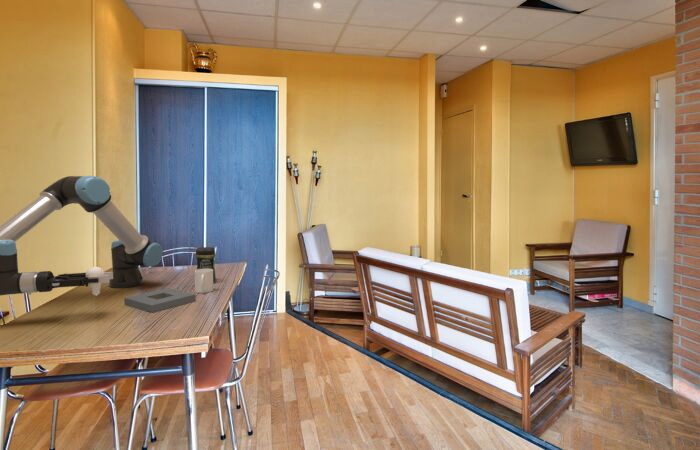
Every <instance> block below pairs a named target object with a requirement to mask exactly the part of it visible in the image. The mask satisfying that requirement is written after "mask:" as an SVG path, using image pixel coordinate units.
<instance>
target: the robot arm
mask: <svg viewBox="0 0 700 450" xmlns="http://www.w3.org/2000/svg"><path fill="white" fill-rule="evenodd" d="M110 190H111V188H110V185H109V184H108V183H107V181H106V180H104V179H103V178H101V177H99V176H94V175H68V176H65V177H62V178H60V179H58V180H57V181H54V182H53V183H51V184H50V185H48V186H47V187H46V188H44V189H43V190H42V191H41V192H40V193H39V196H38V197H37V198H36V199H33V201H31V203H29V204H27V205H26V206H25V207H23V208H22V209H21V210H20V211H18V212H17V213H16V214H14V215H13V216H12V217H10V218H9V219H8V220H6V221H5V222H3V224H0V296H7V295H10V296H11V295H18V294H28V295H32V294H33V293H48V292H51V291H52V290H54V289H58V288H71V287H85V288H87V287H89V285H90V284H99V283H101V284H108V285H109V287H110V288H115V289H120V288H121V289H123V288H133V287H137V286H140V285H143V284H144V278H143V276H142V272H141V271H140V269H139V266H141V267H146V268H149V267H151V268H152V267H156V266H157V265H158V264H159V263H160V262H161V261H162V259H163V253H164V251H163V248H162V245H160V243H158V242H152V240H150V238H149V237H148V236H147V235H145V234H141V233H140V232H139V230H137V229H136V228H135V226H134V225H133V224H132V223H131V222H130V220H129V219H128V218H127V217H126V216H125V215H124V214H123V213H122V211H120V210H119V209H118V207H117V206H116V205H115V204H114V203H113V201H112V197H113V196H112V195H111V191H110ZM72 204H75V205H76V204H79V206H80V207H81V208H82V209H83V210H84V211H86V213H89V214H90V213H91V214H93V215H95V217H96V218H98V220H99V221H100V222H101V223H102V224H103V225H104V226H105V227H106V228H107V229H108V231H110V232H111V233H112V235H114V236H115V238H117V239H118V240H114V241H112V242H111V245H110V246H111V248H110V251H111V265H112V266H111V267H112V271H104V273H105V276H93V277H89V279H88V278H87V277H86V272H75V273H74V272H73V273H62V274H57V275H54V273H53V272H52V271H51V270H47V271H46V270H44V271H39V272H38V271H27V272H24V271H23V272H19V265H18V264H19V263H18V249H17V243H16V242H17V241H19V240H20V239H21V238H22V237H23V236H24V235H26V234H27V233H28V232H30V231H31V230H32V229H34V228H35V227H36V226H38V224H39V223H41V222H42V221H44V220H45V219H46V218H47V217H49V216H50V215H51V214H52V213H54V212H55V211H61V210H62V209H63V208H65V207H66V206H67V205H72Z"/></svg>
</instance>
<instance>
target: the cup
mask: <svg viewBox="0 0 700 450" xmlns="http://www.w3.org/2000/svg"><path fill="white" fill-rule="evenodd" d="M194 290H195V293H196V294H208V293H211V292H213V291H214V283H213V269H197V268H196V269H195V270H194Z"/></svg>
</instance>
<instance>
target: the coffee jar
mask: <svg viewBox="0 0 700 450" xmlns="http://www.w3.org/2000/svg"><path fill="white" fill-rule="evenodd" d="M195 258H196V264H197V265H196V270H197V269H213V284H214V283H216V280H217V279H216V269H215V258H216V250H215V248H214V247H213V246H212V247H210V246H209V247H208V246H207V247H203V246H202V247H197V248H196V250H195Z"/></svg>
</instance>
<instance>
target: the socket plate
mask: <svg viewBox="0 0 700 450" xmlns="http://www.w3.org/2000/svg"><path fill="white" fill-rule="evenodd" d="M196 294H197V293H196ZM196 294H195V293H192V292H187V291H181V290H177V289H173V288H168V287H166V288H162V289H158V290H154V291H150V292H145V293H140V294H135V295H132V296H127V297H124V298H123V299H124V302H123V303H124V306H127V307H131V308H135V309H137V310H141V311H144V312H148V313H150V314H151V313H152V314H153V313H157V312H161V311H163V310H164V311H166V310H168V309H172V308H175V307H178V306H182V305H186V304H190V303H194V302H196V301H197V300H196V299H197V297H196Z"/></svg>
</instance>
